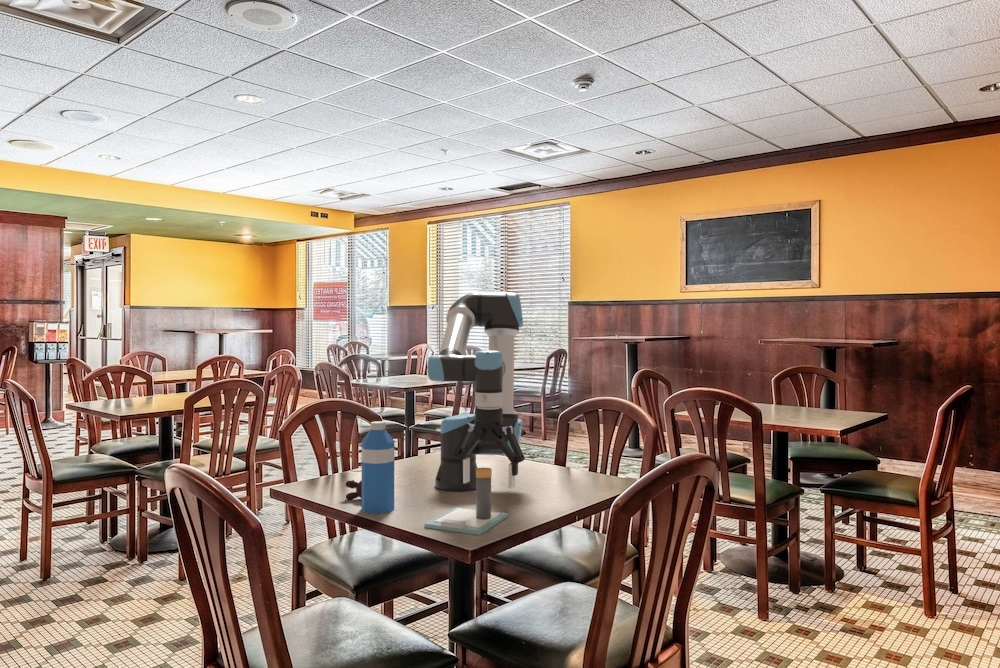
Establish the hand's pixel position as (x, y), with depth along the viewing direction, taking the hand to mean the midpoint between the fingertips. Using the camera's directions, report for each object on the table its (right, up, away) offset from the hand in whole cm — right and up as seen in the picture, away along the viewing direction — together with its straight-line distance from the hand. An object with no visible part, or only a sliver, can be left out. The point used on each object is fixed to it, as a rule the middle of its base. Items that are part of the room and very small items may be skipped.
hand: (488, 484), depth 186 cm
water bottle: (-32, -9, +9) cm, 34 cm away
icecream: (-36, -9, +20) cm, 43 cm away
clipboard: (-6, -9, -3) cm, 11 cm away
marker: (-1, -8, -3) cm, 9 cm away
